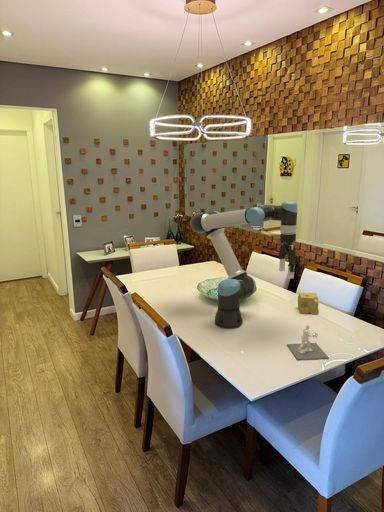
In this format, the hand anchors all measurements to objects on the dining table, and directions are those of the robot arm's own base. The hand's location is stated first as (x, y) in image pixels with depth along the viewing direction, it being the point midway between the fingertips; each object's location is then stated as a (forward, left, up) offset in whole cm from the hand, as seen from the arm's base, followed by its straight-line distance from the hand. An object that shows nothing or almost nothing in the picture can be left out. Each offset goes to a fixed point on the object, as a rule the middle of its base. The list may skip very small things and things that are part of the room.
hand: (286, 274), depth 179 cm
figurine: (+2, -27, -28) cm, 39 cm away
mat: (+2, -27, -29) cm, 39 cm away
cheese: (+21, +21, -29) cm, 42 cm away
